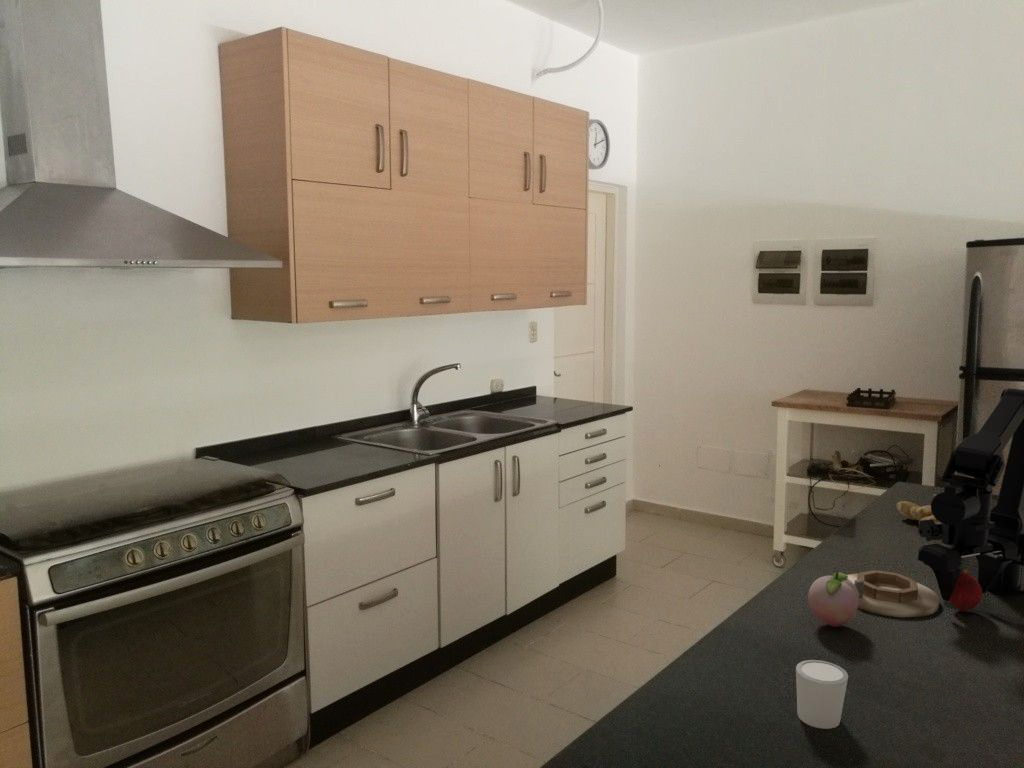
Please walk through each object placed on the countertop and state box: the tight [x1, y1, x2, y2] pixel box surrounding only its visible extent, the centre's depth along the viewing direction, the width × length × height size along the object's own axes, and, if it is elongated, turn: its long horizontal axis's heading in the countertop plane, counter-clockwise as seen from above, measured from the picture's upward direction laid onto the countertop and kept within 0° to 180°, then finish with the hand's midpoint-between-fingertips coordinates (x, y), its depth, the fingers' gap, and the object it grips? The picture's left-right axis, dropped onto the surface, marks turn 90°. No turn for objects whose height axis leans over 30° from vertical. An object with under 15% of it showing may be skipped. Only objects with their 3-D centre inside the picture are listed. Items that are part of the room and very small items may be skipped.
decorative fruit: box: [807, 571, 859, 628], centre depth 145 cm, size 9×8×10 cm
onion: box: [948, 568, 983, 613], centre depth 151 cm, size 6×6×8 cm
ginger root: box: [896, 493, 939, 523], centre depth 200 cm, size 16×16×8 cm
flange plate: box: [846, 569, 940, 618], centre depth 158 cm, size 18×18×4 cm
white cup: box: [795, 659, 849, 730], centre depth 116 cm, size 7×7×7 cm
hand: (963, 596), depth 152 cm, fingers open, 9 cm apart
